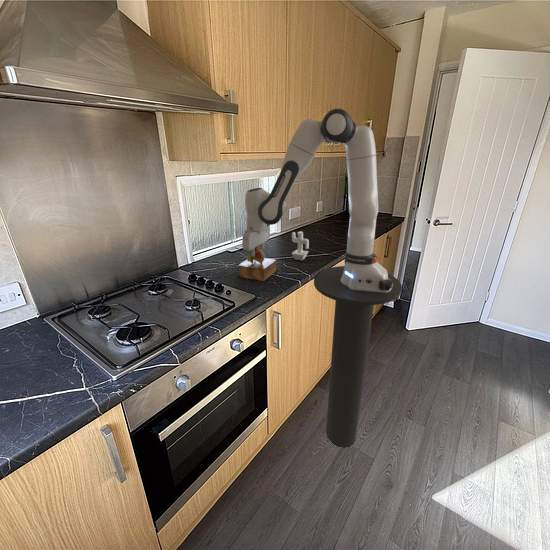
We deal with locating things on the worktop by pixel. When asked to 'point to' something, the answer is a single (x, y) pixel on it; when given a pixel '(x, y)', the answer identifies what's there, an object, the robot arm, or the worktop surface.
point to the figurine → (300, 246)
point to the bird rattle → (258, 257)
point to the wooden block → (257, 269)
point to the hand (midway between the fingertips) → (257, 254)
